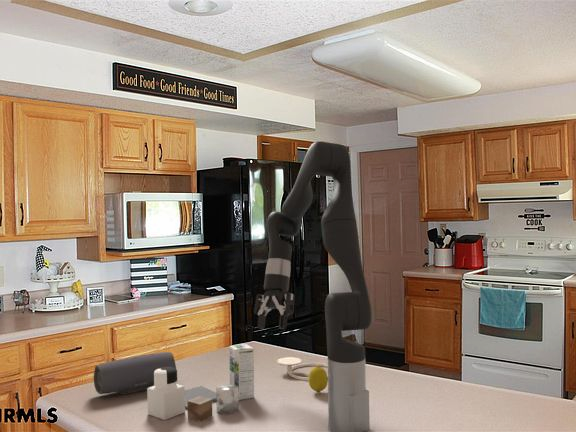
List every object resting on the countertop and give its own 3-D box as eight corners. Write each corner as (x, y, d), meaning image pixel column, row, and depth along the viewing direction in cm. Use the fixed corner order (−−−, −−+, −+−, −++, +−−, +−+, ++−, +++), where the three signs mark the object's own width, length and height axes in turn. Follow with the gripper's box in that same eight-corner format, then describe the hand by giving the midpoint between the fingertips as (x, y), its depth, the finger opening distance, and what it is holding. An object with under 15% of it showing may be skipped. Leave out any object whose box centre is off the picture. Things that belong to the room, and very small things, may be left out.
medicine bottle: (168, 406, 151) (167, 363, 151) (185, 412, 147) (184, 367, 146) (147, 414, 146) (146, 369, 145) (164, 420, 141) (163, 374, 141)
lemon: (326, 396, 157) (326, 368, 156) (307, 395, 158) (306, 368, 157) (329, 390, 162) (328, 363, 162) (310, 389, 163) (310, 362, 163)
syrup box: (229, 395, 159) (228, 345, 159) (248, 391, 162) (247, 342, 162) (235, 401, 154) (234, 350, 154) (255, 397, 157) (254, 347, 156)
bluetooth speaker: (165, 378, 176) (164, 347, 176) (177, 385, 169) (176, 353, 168) (93, 393, 163) (92, 360, 162) (103, 402, 155) (102, 367, 155)
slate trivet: (223, 398, 156) (223, 395, 156) (186, 409, 149) (186, 406, 149) (201, 388, 165) (201, 385, 165) (165, 398, 158) (165, 395, 158)
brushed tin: (243, 410, 147) (242, 388, 147) (224, 416, 143) (224, 393, 143) (230, 404, 152) (230, 383, 152) (212, 410, 148) (211, 387, 148)
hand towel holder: (341, 368, 170) (275, 368, 171) (341, 382, 170) (275, 382, 171) (337, 353, 187) (277, 353, 188) (338, 365, 187) (278, 366, 188)
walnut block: (212, 416, 144) (212, 399, 144) (200, 421, 140) (200, 404, 140) (199, 412, 146) (199, 396, 146) (187, 418, 143) (187, 401, 143)
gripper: (303, 276, 165) (297, 331, 160) (269, 279, 175) (263, 330, 170) (286, 271, 160) (280, 327, 155) (252, 274, 169) (245, 326, 165)
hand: (271, 328), depth 162 cm, fingers open, 8 cm apart
